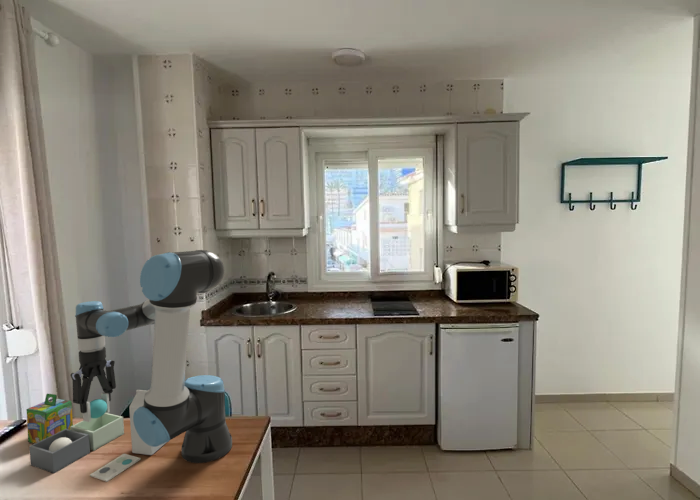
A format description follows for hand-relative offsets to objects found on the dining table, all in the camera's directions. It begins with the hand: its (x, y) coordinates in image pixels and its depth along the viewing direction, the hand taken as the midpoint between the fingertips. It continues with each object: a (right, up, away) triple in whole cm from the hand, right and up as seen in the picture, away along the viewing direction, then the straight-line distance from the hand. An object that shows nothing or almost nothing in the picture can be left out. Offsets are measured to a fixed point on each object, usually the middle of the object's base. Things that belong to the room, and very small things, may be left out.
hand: (96, 416), depth 133 cm
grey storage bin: (-4, -9, -10) cm, 14 cm away
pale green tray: (0, -8, +1) cm, 8 cm away
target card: (+15, -9, -15) cm, 23 cm away
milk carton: (+20, -8, -5) cm, 23 cm away
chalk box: (-17, -8, +2) cm, 19 cm away
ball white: (-4, -8, -11) cm, 14 cm away
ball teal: (0, 0, 0) cm, 0 cm away
